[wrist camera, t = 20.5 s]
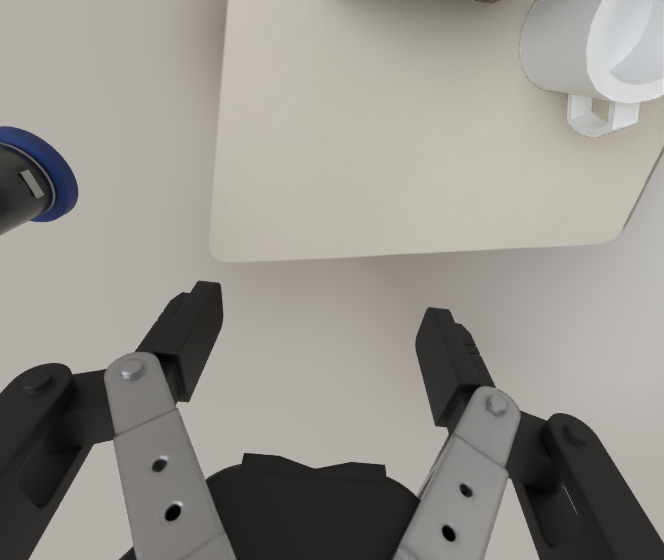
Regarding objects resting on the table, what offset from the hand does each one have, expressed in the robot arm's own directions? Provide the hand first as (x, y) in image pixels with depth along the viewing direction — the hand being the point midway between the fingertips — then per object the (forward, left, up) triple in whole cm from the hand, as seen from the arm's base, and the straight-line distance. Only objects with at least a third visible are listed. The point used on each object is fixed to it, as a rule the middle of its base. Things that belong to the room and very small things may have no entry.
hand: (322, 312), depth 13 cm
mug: (+22, +12, -30) cm, 39 cm away
